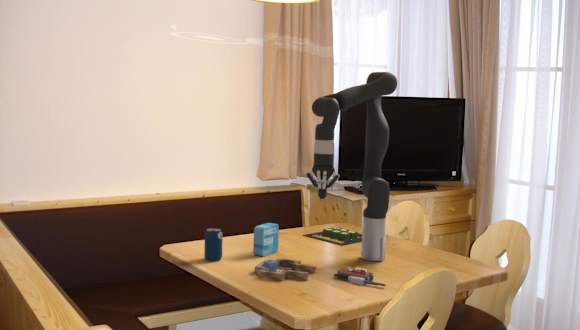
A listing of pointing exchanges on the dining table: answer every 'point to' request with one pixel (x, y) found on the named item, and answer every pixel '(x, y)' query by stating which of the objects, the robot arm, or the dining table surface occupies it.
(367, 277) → the walkie-talkie
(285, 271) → the trap channel
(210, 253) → the soda can
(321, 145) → the robot arm
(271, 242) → the light blue box
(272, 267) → the decorative dice
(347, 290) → the dining table surface
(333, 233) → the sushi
